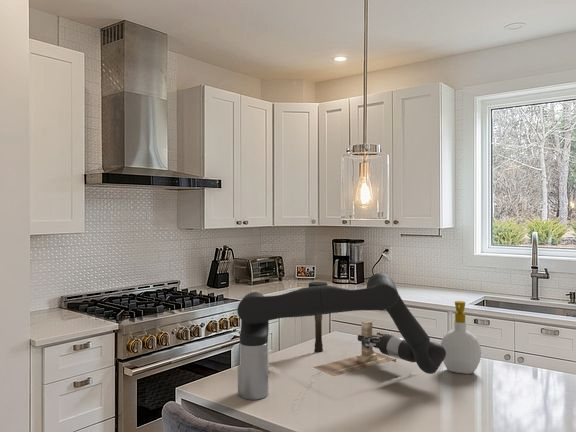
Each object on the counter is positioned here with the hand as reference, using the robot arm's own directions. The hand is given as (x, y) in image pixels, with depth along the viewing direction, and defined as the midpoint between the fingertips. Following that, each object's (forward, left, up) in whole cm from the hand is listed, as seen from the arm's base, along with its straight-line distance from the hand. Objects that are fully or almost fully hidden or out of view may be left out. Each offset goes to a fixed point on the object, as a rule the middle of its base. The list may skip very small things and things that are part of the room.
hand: (361, 336), depth 189 cm
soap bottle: (+37, +3, -10) cm, 38 cm away
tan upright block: (+3, -1, -8) cm, 9 cm away
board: (0, -7, -10) cm, 12 cm away
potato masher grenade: (-19, +2, -10) cm, 22 cm away
